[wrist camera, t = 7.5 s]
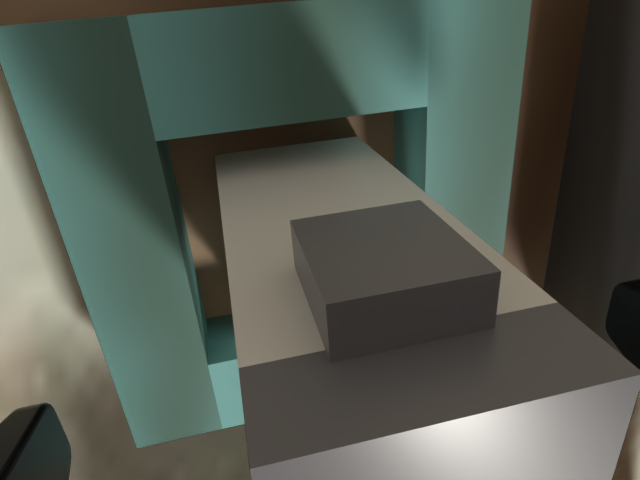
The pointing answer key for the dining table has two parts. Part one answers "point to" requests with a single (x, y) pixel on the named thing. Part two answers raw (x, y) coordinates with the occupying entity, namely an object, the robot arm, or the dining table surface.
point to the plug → (400, 334)
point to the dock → (312, 126)
